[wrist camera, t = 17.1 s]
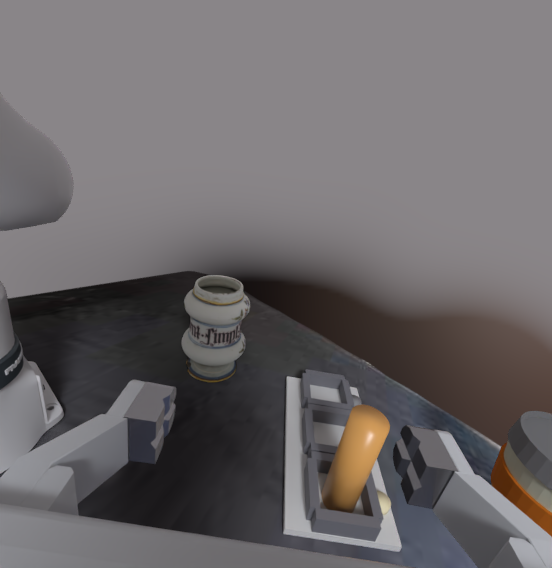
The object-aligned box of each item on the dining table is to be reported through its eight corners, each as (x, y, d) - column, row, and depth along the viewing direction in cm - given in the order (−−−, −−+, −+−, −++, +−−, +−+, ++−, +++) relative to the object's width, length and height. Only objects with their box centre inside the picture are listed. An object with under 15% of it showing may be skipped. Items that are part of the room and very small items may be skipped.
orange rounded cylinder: (314, 492, 40) (342, 413, 35) (336, 476, 43) (366, 399, 38) (339, 524, 37) (374, 442, 32) (361, 504, 40) (397, 426, 35)
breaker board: (399, 551, 37) (408, 534, 35) (283, 533, 36) (288, 515, 35) (355, 391, 62) (359, 378, 60) (286, 380, 61) (289, 366, 60)
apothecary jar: (174, 352, 63) (178, 271, 56) (229, 344, 69) (239, 269, 62) (188, 393, 54) (195, 301, 47) (251, 379, 60) (265, 296, 53)
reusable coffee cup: (455, 515, 42) (505, 435, 36) (485, 468, 50) (530, 396, 44) (572, 618, 34) (661, 536, 28) (585, 541, 42) (656, 465, 36)
